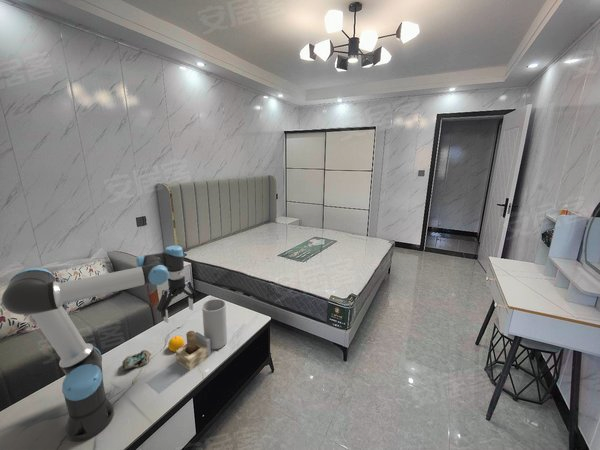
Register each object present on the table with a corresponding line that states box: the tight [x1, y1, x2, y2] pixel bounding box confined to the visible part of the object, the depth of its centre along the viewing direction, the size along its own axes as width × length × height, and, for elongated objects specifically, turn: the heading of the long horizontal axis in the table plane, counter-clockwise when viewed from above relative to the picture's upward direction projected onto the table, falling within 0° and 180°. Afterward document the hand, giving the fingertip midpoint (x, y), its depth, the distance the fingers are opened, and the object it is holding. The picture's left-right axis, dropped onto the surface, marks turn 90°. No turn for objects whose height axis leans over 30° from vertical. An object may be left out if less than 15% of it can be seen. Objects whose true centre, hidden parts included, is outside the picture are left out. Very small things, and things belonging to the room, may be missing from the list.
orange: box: [167, 335, 185, 353], centre depth 146 cm, size 8×8×8 cm
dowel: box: [186, 330, 196, 355], centre depth 137 cm, size 4×4×14 cm
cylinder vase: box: [201, 298, 228, 351], centre depth 150 cm, size 12×12×25 cm
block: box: [175, 340, 209, 371], centre depth 138 cm, size 11×11×6 cm
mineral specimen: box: [121, 349, 152, 372], centre depth 135 cm, size 12×9×8 cm
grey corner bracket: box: [145, 331, 212, 394], centre depth 132 cm, size 29×11×11 cm, turn 148°
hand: (179, 315), depth 133 cm, fingers open, 13 cm apart
